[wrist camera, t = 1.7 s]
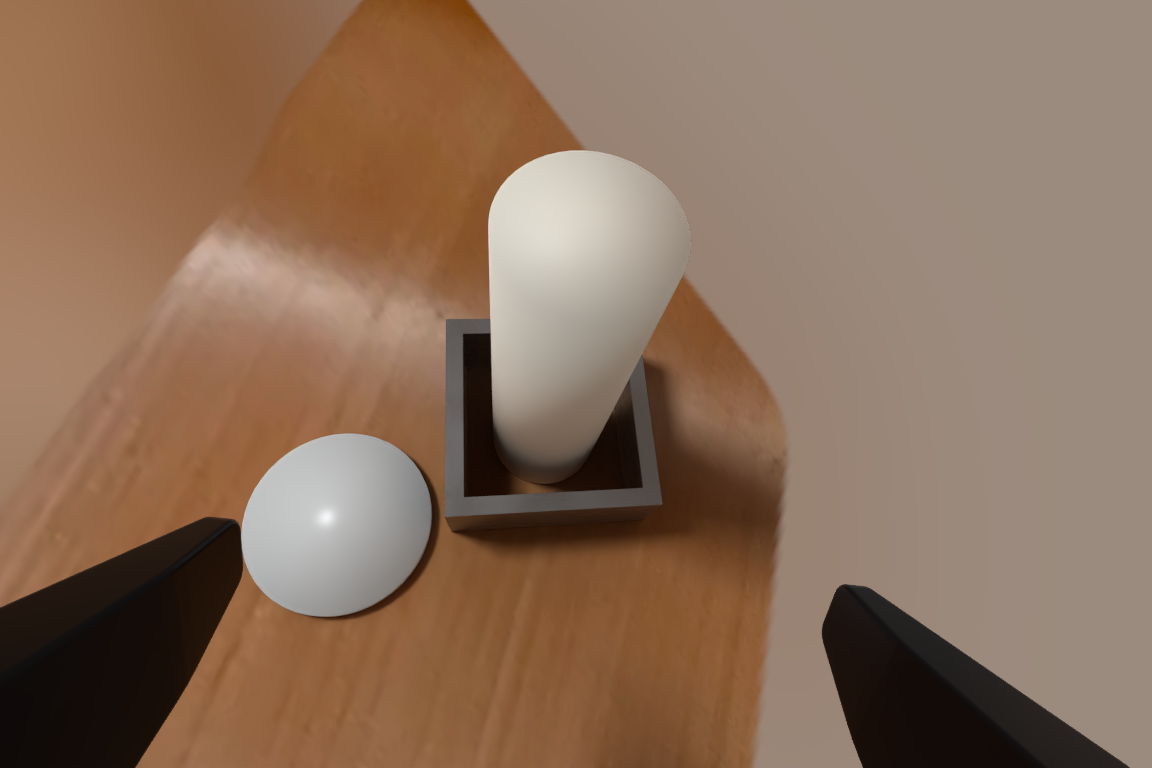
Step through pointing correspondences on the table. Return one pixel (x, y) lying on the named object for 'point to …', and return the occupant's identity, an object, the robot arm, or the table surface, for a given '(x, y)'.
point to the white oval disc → (336, 525)
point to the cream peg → (574, 300)
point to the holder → (465, 513)
